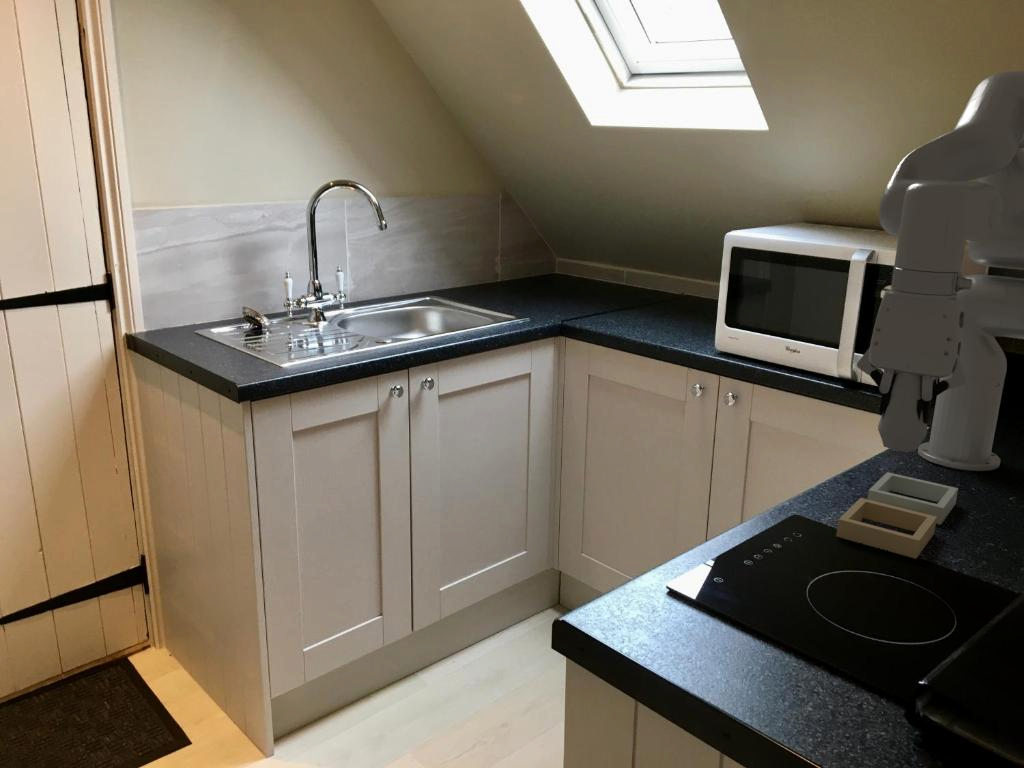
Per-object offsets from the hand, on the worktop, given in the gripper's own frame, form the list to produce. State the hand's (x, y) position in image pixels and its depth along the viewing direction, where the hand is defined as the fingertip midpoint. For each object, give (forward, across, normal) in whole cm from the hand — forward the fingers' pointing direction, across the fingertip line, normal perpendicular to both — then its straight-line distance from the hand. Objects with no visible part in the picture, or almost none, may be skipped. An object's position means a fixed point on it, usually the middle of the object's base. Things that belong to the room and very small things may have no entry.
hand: (902, 423), depth 111 cm
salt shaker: (+3, 0, 0) cm, 3 cm away
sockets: (+16, 0, -7) cm, 17 cm away
